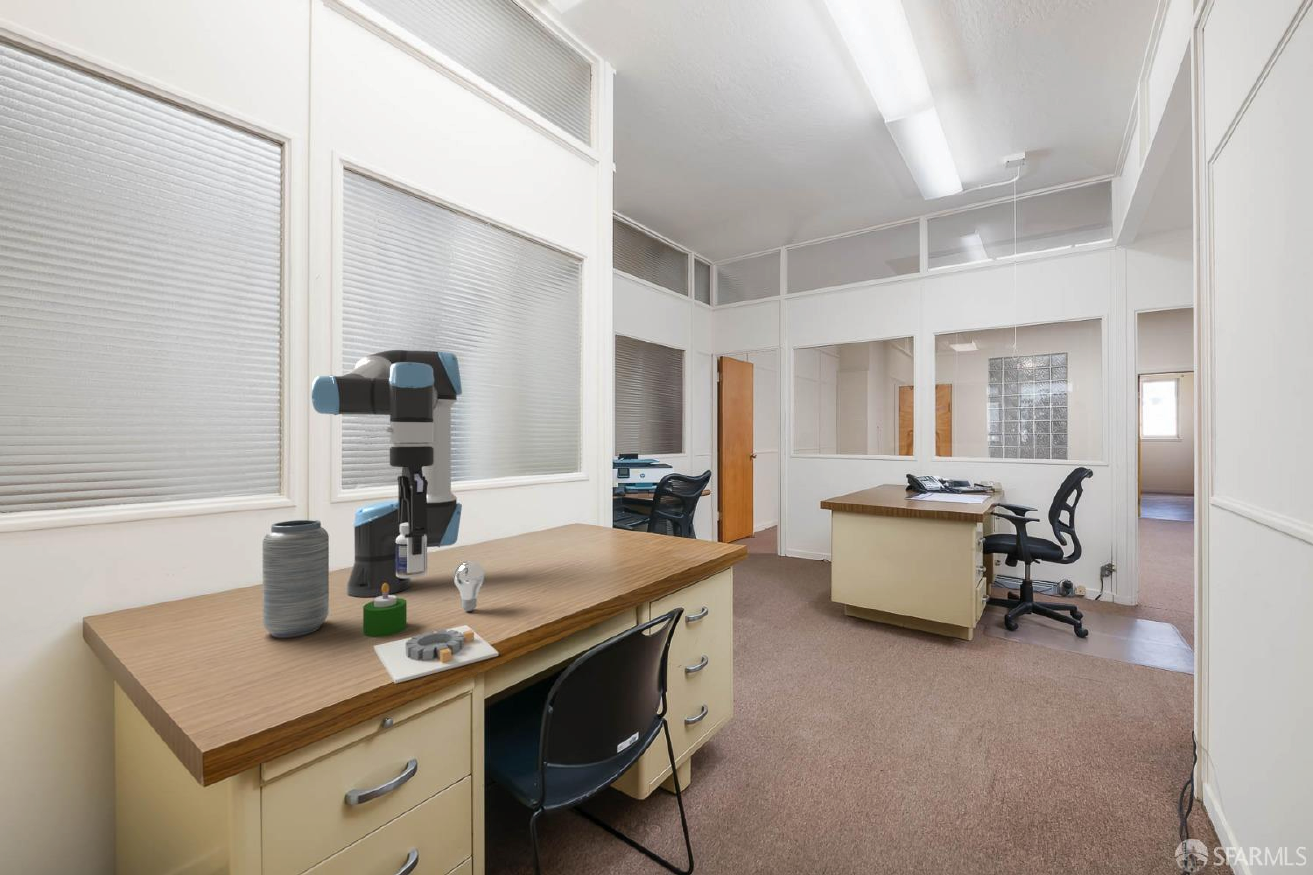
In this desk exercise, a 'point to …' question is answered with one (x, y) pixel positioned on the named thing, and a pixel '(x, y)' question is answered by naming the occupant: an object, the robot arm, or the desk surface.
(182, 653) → the desk surface
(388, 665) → the socket
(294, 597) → the vase
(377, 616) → the candle
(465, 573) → the light bulb
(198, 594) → the desk surface
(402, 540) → the pill bottle
